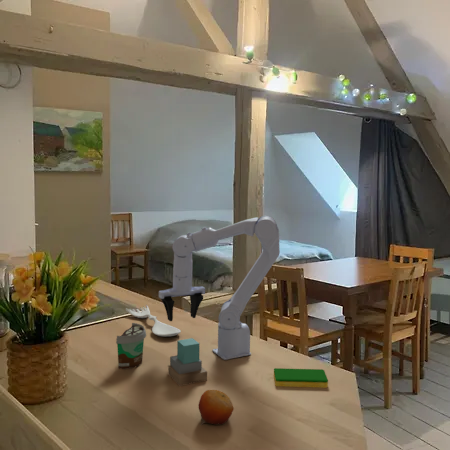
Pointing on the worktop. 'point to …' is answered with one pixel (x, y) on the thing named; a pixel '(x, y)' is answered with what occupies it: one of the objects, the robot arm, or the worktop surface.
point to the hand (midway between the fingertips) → (181, 318)
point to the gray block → (184, 365)
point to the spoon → (158, 327)
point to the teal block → (188, 350)
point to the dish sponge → (300, 377)
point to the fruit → (215, 407)
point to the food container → (131, 347)
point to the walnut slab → (187, 376)
